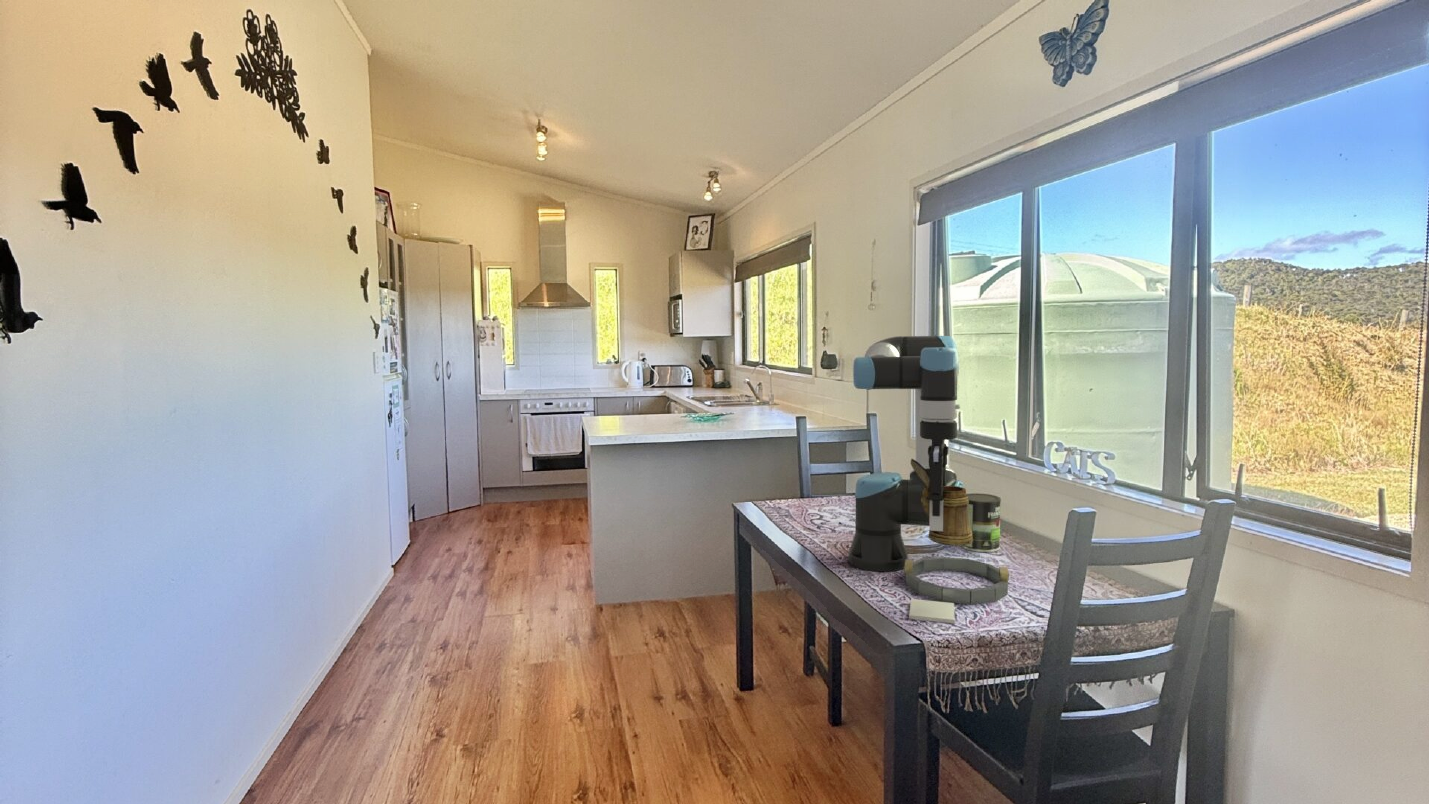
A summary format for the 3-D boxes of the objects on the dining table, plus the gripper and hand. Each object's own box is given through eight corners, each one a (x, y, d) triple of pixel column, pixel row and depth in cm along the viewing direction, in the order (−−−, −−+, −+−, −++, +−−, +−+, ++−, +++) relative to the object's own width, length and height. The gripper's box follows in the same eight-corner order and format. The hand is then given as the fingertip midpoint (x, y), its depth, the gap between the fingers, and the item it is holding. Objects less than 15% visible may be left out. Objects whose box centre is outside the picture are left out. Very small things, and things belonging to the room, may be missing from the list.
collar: (902, 597, 154) (902, 578, 153) (907, 565, 175) (907, 548, 174) (1012, 608, 146) (1012, 588, 146) (1003, 573, 168) (1004, 555, 167)
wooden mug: (901, 536, 148) (902, 455, 147) (960, 533, 150) (961, 452, 149) (919, 548, 140) (919, 461, 138) (980, 544, 141) (982, 459, 140)
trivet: (909, 618, 142) (909, 615, 142) (911, 602, 151) (911, 599, 151) (954, 623, 140) (954, 619, 140) (953, 606, 148) (953, 603, 148)
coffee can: (1006, 546, 188) (1007, 497, 187) (988, 555, 181) (989, 503, 180) (971, 538, 196) (972, 491, 194) (953, 546, 189) (953, 497, 188)
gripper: (954, 425, 133) (953, 539, 135) (959, 415, 151) (958, 516, 153) (915, 424, 136) (914, 536, 138) (924, 414, 154) (923, 513, 156)
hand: (937, 525), depth 146 cm, fingers closed on wooden mug, 7 cm apart
